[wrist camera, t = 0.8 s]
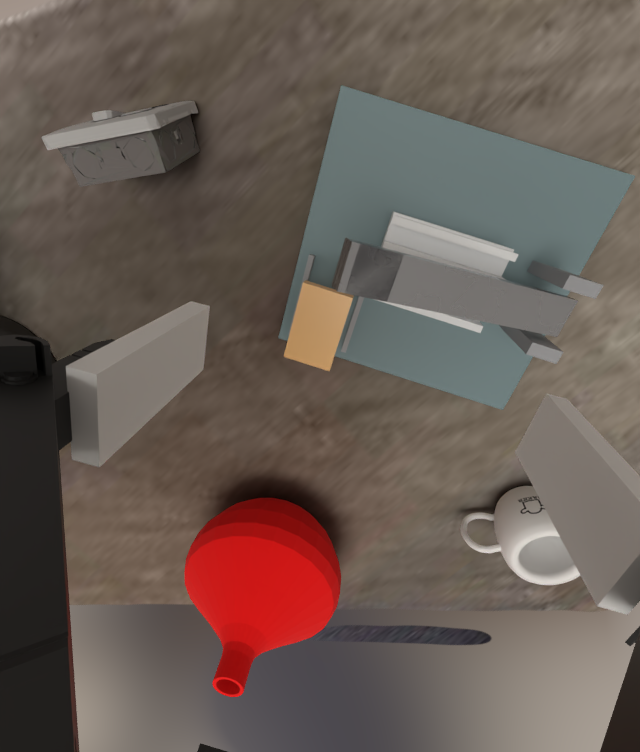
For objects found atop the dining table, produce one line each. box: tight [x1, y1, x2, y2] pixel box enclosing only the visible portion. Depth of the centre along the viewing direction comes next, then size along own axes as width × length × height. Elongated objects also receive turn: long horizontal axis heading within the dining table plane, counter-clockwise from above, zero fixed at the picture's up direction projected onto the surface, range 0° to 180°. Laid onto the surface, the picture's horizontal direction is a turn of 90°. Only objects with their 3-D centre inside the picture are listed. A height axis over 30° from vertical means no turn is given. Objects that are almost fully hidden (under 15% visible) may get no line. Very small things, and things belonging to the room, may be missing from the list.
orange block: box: [284, 280, 354, 371], centre depth 35 cm, size 4×6×8 cm, turn 164°
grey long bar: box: [331, 237, 578, 337], centre depth 27 cm, size 19×3×1 cm, turn 74°
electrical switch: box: [42, 101, 200, 187], centre depth 32 cm, size 9×5×9 cm, turn 97°
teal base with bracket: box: [278, 85, 635, 410], centre depth 33 cm, size 24×22×9 cm
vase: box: [185, 498, 341, 697], centre depth 44 cm, size 18×18×19 cm
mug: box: [460, 486, 580, 585], centre depth 43 cm, size 12×8×8 cm
